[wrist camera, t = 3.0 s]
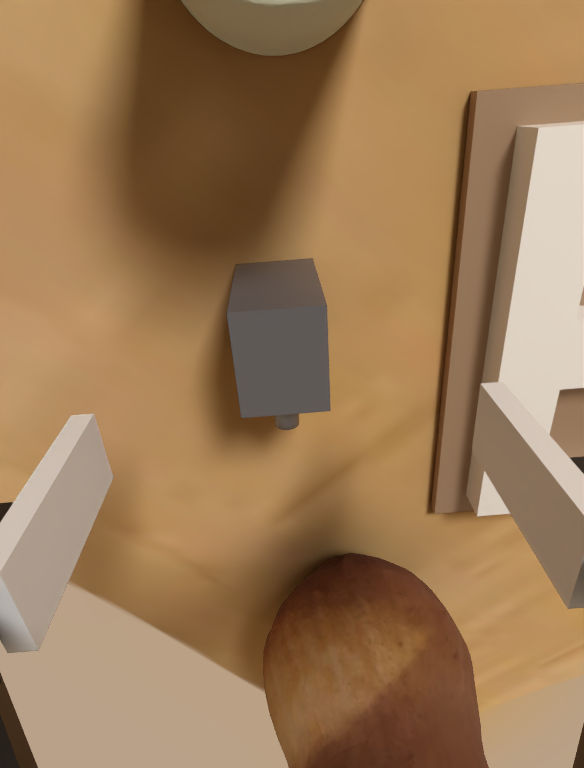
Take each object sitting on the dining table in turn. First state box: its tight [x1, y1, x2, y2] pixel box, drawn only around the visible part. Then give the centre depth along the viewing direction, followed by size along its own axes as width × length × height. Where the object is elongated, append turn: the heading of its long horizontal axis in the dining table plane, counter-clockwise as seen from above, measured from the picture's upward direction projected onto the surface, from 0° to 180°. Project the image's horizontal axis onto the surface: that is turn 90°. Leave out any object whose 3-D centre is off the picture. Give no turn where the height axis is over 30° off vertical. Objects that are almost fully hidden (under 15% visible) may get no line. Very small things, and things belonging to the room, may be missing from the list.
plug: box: [227, 258, 330, 430], centre depth 24 cm, size 4×7×7 cm, turn 4°
